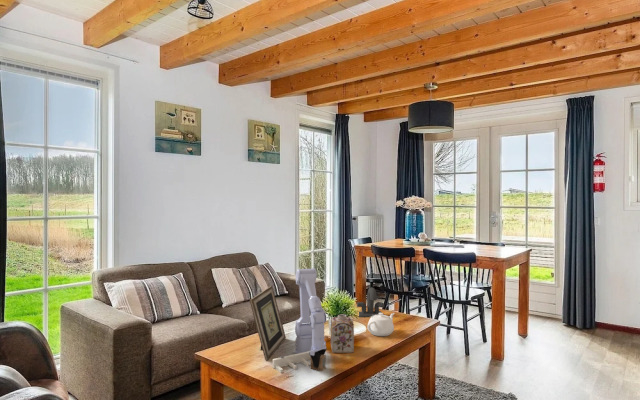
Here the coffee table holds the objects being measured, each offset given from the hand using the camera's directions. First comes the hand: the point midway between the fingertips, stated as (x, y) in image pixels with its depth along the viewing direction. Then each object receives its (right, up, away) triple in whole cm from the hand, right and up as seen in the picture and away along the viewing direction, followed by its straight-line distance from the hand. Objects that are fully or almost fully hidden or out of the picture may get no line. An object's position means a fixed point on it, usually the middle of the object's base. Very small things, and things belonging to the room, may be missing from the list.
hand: (318, 365), depth 201 cm
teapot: (+38, -1, +52) cm, 64 cm away
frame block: (0, -1, 0) cm, 1 cm away
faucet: (+36, -1, +85) cm, 92 cm away
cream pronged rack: (-9, -1, +4) cm, 10 cm away
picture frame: (-26, -1, +26) cm, 37 cm away
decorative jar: (+13, -1, +25) cm, 28 cm away
